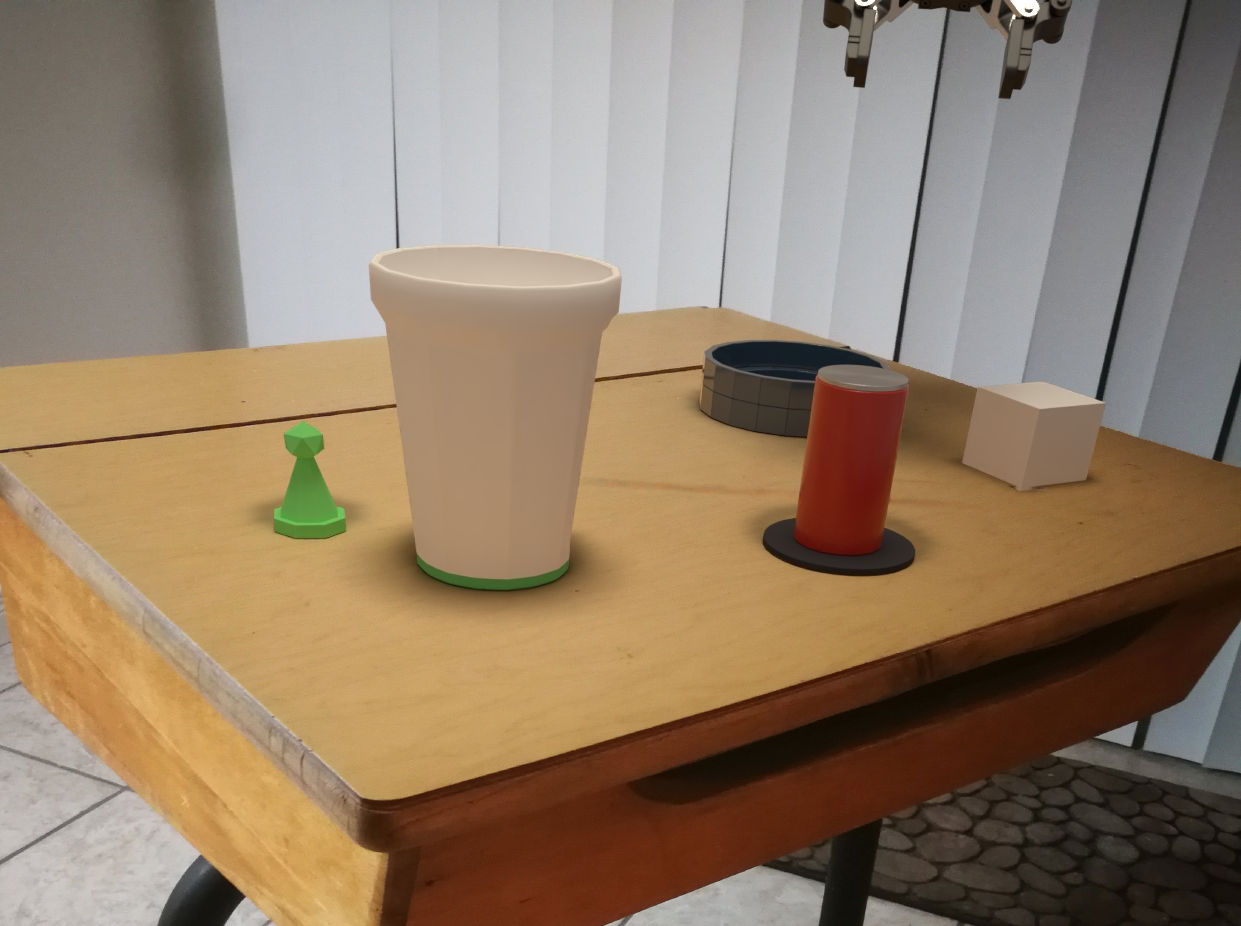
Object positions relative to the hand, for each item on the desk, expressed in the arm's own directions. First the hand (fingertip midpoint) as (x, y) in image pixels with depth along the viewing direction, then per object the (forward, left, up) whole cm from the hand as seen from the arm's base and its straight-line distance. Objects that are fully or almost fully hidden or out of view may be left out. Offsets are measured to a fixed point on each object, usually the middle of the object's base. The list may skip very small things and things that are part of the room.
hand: (933, 82), depth 76 cm
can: (+4, +14, -23) cm, 27 cm away
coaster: (+4, +14, -24) cm, 28 cm away
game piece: (+35, +16, -24) cm, 45 cm away
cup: (+24, +20, -24) cm, 39 cm away
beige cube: (-11, -2, -24) cm, 27 cm away
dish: (+4, -15, -24) cm, 28 cm away
